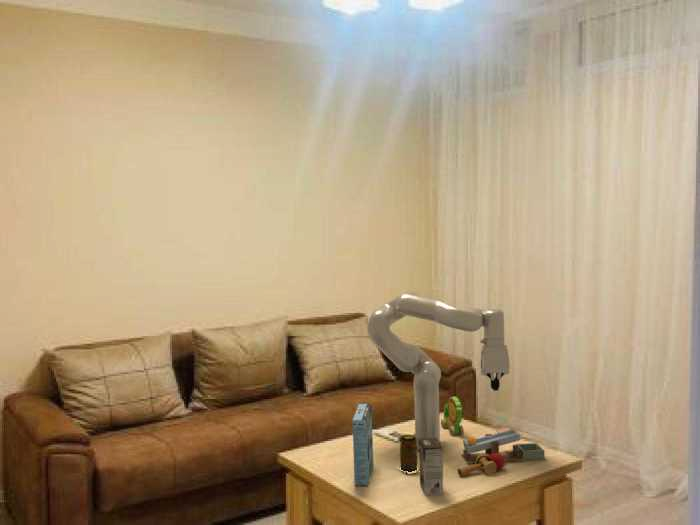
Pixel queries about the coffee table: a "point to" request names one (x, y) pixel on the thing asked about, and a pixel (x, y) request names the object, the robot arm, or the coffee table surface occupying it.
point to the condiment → (408, 453)
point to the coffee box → (431, 466)
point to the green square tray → (531, 451)
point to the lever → (485, 442)
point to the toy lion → (453, 416)
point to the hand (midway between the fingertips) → (495, 389)
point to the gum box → (362, 444)
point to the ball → (472, 441)
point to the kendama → (484, 464)
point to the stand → (508, 456)
